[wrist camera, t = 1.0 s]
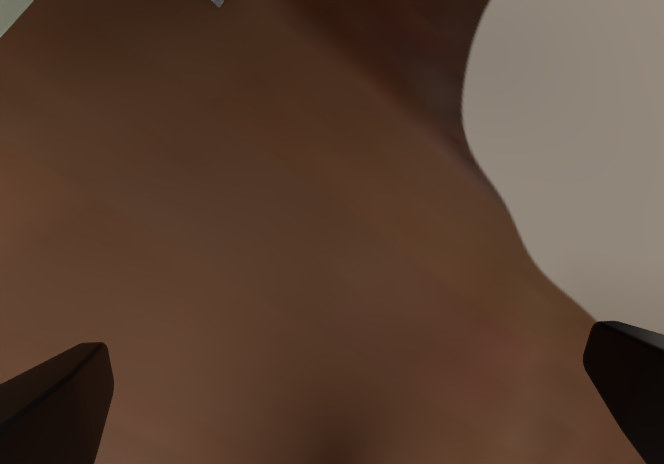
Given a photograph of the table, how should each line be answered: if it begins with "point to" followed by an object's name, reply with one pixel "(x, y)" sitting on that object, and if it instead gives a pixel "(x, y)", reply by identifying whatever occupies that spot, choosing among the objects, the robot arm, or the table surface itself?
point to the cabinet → (11, 12)
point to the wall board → (218, 2)
